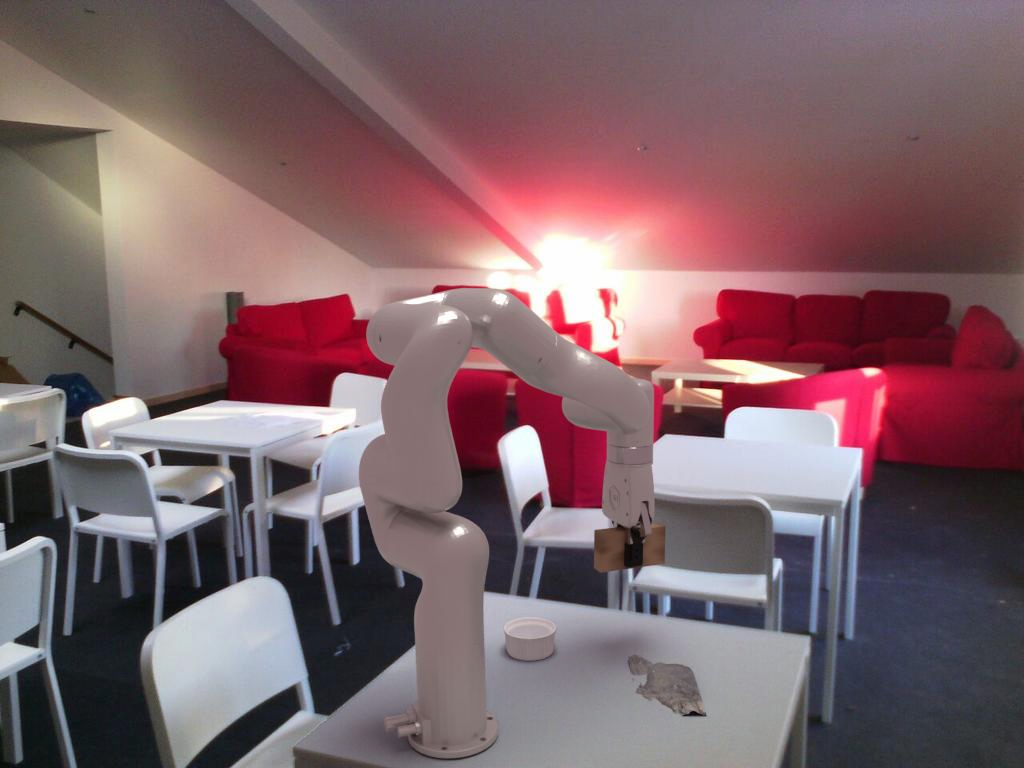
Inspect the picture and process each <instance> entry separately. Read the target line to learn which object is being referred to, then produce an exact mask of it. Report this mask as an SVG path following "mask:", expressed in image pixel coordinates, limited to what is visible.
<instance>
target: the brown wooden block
mask: <svg viewBox="0 0 1024 768" xmlns="http://www.w3.org/2000/svg"><path fill="white" fill-rule="evenodd" d="M636 530H638V529H633V533H634V532H635V531H636ZM651 530H652V534H651V535H649V536H646V537H645V542H644V543H643V565H641V566H635V567H628V568H627V567H625V566H624V545H625V543H627V528H625V527H615V528H614V527H609V528H600V529H599V528H598V529H594V530H593V531H594V533H593V534H594V535H593V537H594V540H593V546H594V547H593V569H595V570H596V571H597V572H599V573H602V574H603V573H607V572H609V573H610V572H616V571H623V570H630V569H638V568H645V567H652V566H658V565H665V563H666V562H665V560H666V525H665V524H662V523H661V522H657V521H656V522H653V523H652V524H651Z"/></svg>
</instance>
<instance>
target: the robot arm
mask: <svg viewBox="0 0 1024 768" xmlns="http://www.w3.org/2000/svg"><path fill="white" fill-rule="evenodd" d="M365 334H366V335H365V336H366V341H367V346H368V347H369V350H370V351H371V353H372V354H373V355H374V357H376V358H377V359H378V360H379V361H381V362H383V363H385V364H388V365H391V366H393V369H392V370H391V372H390V374H389V377H388V379H387V381H386V383H385V385H384V388H383V391H382V394H381V402H380V414H381V421H382V425H383V429H384V430H383V431H384V433H383V434H380V435H378V436H377V437H375V438H374V439H372V440H371V441H370V442H369V443H368V444H367V445H366V447H365V448H364V450H363V452H362V454H361V457H360V459H359V466H358V481H359V488H360V492H361V495H362V499H363V503H364V506H365V507H364V508H365V510H366V515H367V517H368V521H369V525H370V529H371V532H372V535H373V539H374V542H375V545H376V547H377V550H378V552H379V554H380V555H381V557H382V558H383V559H384V560H385V561H386V562H387V563H388V564H389V565H391V566H392V567H395V568H397V569H399V570H401V571H403V572H406V573H408V574H411V575H413V576H415V577H417V578H418V579H421V581H422V588H421V591H420V593H419V595H418V598H417V601H416V602H415V603H416V604H415V606H414V612H413V613H414V616H413V622H414V623H413V624H414V625H413V626H414V627H413V629H414V646H415V647H414V648H415V670H416V671H415V672H416V693H417V695H416V696H417V700H415V701H412V702H411V709H410V710H406V711H405V714H399V715H397V714H395V715H392V716H386V717H384V718H383V726H384V730H385V733H390V732H394V731H395V732H396V733H397V737H398V738H404V737H407V739H408V742H409V744H410V746H411V747H412V748H413V749H414V750H415V751H417V752H419V753H421V754H422V755H425V756H428V757H431V758H437V759H460V758H465V757H469V756H473V755H475V754H479V753H481V752H483V751H484V750H486V749H488V748H489V747H491V746H492V745H493V744H494V743H495V742H496V740H497V737H499V736H498V735H499V722H498V720H497V718H496V717H495V716H494V715H493V714H492V713H490V712H489V711H488V710H487V689H486V688H487V686H486V654H485V653H486V652H485V626H484V625H485V624H484V623H485V621H484V620H485V619H484V617H485V616H484V612H485V611H484V603H485V601H484V599H485V598H484V596H485V584H486V577H487V573H488V571H487V570H488V566H489V558H490V545H489V541H488V539H487V537H486V534H485V532H484V531H483V530H482V529H481V527H480V526H478V525H477V524H475V523H474V522H473V521H471V520H470V519H468V518H465V517H464V516H460V515H458V514H454V513H452V512H448V511H447V510H450V509H452V508H453V507H455V505H456V504H457V503H458V501H459V499H460V497H461V495H462V492H463V477H462V470H461V465H460V461H459V457H458V453H457V449H456V444H455V440H454V437H453V432H452V427H451V422H450V417H449V411H448V410H449V409H448V395H449V391H450V388H451V386H452V383H453V381H454V378H455V376H456V375H457V373H458V371H459V370H460V368H461V367H462V365H463V364H464V362H465V360H466V359H467V357H468V355H469V354H470V351H471V349H472V348H475V349H481V350H483V351H485V352H486V353H488V354H489V355H490V356H492V357H493V358H494V359H496V360H497V361H498V362H500V363H501V364H502V365H503V366H504V367H506V368H507V369H509V371H511V372H512V373H514V375H516V376H517V377H518V378H519V379H521V380H522V381H523V382H524V383H526V384H527V385H529V386H531V387H533V388H536V389H538V390H541V391H543V392H545V393H549V394H552V395H555V396H559V397H562V401H561V409H562V414H563V415H564V417H565V418H566V419H567V421H568V422H570V423H571V424H573V425H574V426H576V427H579V428H584V429H590V430H595V431H602V432H603V431H604V432H606V461H605V467H604V474H603V475H604V476H603V484H602V485H603V486H602V497H601V498H602V500H601V510H602V514H603V515H604V517H606V519H607V518H608V520H610V521H611V524H612V526H613V528H615V527H625V528H627V543H625V545H624V566H625V567H627V568H628V567H635V566H641V565H643V543H644V542H645V537H646V536H649V535H651V534H652V530H651V524H652V523H654V520H655V485H654V483H655V482H654V474H653V473H654V472H653V466H652V465H653V464H654V427H655V426H654V421H655V420H654V419H655V418H654V415H655V388H654V385H653V383H652V382H651V381H649V380H647V379H643V378H634V377H633V378H632V377H631V376H630V375H629V374H628V373H627V372H625V371H624V370H623V369H621V367H618V366H617V365H616V364H614V363H612V362H610V361H608V360H607V359H605V358H603V357H601V356H599V355H597V354H595V353H593V352H591V351H589V350H587V349H586V348H583V347H582V346H579V345H577V343H574V342H572V341H570V340H568V339H565V338H564V337H563V336H562V335H560V333H558V332H557V331H556V330H555V329H554V328H553V327H551V326H550V325H548V324H547V323H546V321H544V320H543V319H542V318H541V317H540V316H538V314H537V313H536V312H534V311H533V310H532V309H531V308H530V307H528V306H527V305H526V304H525V303H524V302H522V301H521V299H519V298H518V297H517V296H516V295H514V294H512V293H511V292H509V291H507V290H504V289H500V288H491V287H489V288H487V287H486V288H485V287H483V288H479V287H478V288H475V287H469V288H468V287H461V288H460V287H459V288H454V289H448V290H444V291H440V292H436V293H432V294H427V295H422V296H417V297H413V298H409V299H408V298H407V299H404V300H398V301H394V302H391V303H387V304H385V305H383V306H381V307H380V308H378V309H377V310H376V311H374V313H373V315H372V316H371V318H369V321H368V323H367V327H366V332H365ZM633 529H638V530H636V531H635V532H634V533H633Z"/></svg>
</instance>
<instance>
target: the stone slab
mask: <svg viewBox="0 0 1024 768" xmlns="http://www.w3.org/2000/svg"><path fill="white" fill-rule="evenodd" d="M628 663H629V668H630V674H631V675H633V676H643V675H646V681H645V682H646V683H645V684H644V685H643V684H642V683H641V682H640V684H638V687H637V688H636V691H635V694H637V695H641V696H642V697H643V698H644V699H646V700H648V701H649V702H652V701H653V699H655V700H657V701H658V702H659V703H660V704H661V705H662V706H665V707H666V708H668V709H671V710H672V712H673V714H675V715H676V714H679V715H680V717H683V716H684V715H689V714H690V713H691V712H696V713H698V714H700V715H702V716H707V713H706V709H705V706H704V702H703V699H702V695H701V693H700V689H699V686H698V683H697V680H696V676H695V673H694V671H693V669H692V668H690V667H689V666H686V665H683V664H679V663H665V662H661V661H659V662H655V663H653V662H652V661H650V660H648V659H646V658H644V657H642V656H641V655H638V654H633V655H630V656H629V655H628ZM634 681H635V678H632V682H634ZM700 708H702V709H700Z"/></svg>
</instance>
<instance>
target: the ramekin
mask: <svg viewBox="0 0 1024 768" xmlns="http://www.w3.org/2000/svg"><path fill="white" fill-rule="evenodd" d="M556 632H557V626H556V624H555V623H553V621H551V620H548V619H545V618H542V617H535V616H534V617H533V616H529V617H528V616H526V617H520V618H519V617H518V618H515V619H512V620H510V621H508V622H506V623H505V625H504V626H503V633H504V636H505V646H506V647H505V648H506V651H507V654H508V655H509V657H511V658H513V659H515V660H519V661H525V662H533V661H540V660H543V659H546V657H547V658H548V657H550V656H551V655H552V654H553V652H554V649H555V637H556Z"/></svg>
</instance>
